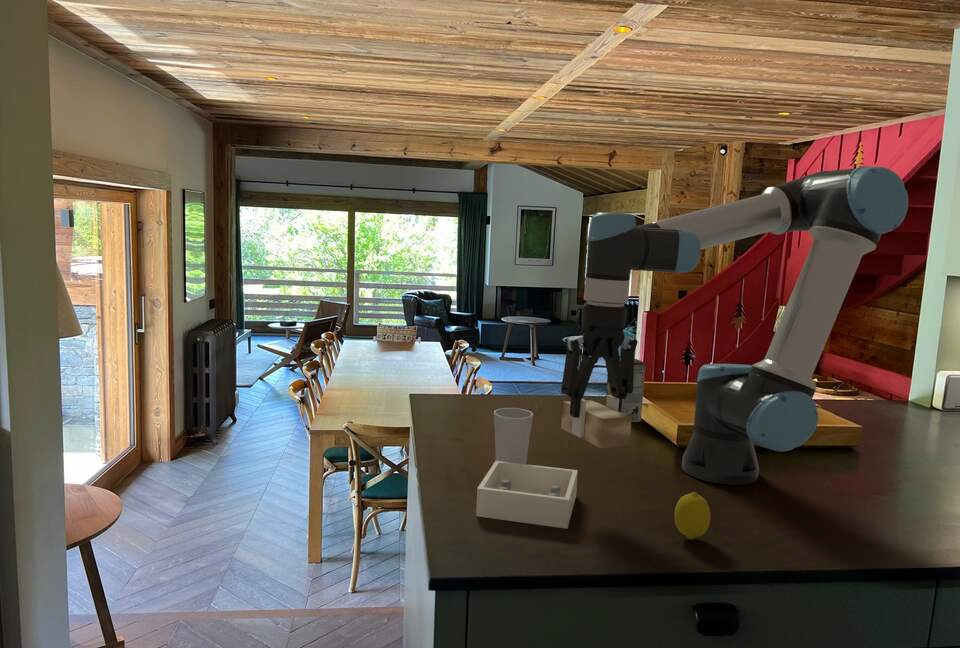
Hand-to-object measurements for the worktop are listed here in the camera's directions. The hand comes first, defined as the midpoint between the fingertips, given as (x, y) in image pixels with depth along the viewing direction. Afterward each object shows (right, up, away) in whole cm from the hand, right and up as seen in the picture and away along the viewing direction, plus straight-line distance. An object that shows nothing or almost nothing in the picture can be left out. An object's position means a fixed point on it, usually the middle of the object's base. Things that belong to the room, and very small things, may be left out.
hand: (593, 433), depth 119 cm
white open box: (-11, -13, +2) cm, 18 cm away
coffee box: (+18, -6, +62) cm, 65 cm away
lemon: (+14, -16, -9) cm, 23 cm away
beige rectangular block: (0, -1, 0) cm, 1 cm away
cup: (-14, -11, +20) cm, 26 cm away
